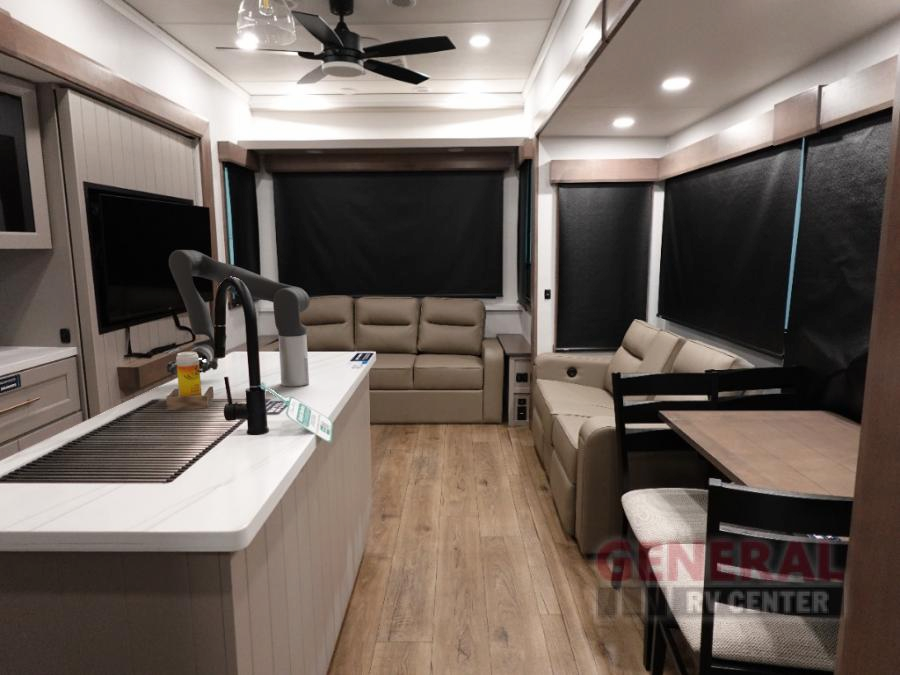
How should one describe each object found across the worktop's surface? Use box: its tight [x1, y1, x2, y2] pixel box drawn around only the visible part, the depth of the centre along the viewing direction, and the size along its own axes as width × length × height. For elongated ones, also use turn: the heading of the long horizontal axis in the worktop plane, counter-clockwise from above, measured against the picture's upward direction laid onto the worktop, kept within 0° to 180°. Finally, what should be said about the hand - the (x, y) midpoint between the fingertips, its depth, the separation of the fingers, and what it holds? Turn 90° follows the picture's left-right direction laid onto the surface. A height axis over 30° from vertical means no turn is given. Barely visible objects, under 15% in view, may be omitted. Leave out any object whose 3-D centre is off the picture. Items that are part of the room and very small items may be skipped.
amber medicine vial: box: [175, 351, 203, 397], centre depth 165 cm, size 6×6×15 cm
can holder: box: [165, 386, 215, 411], centre depth 166 cm, size 11×11×4 cm
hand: (188, 370), depth 164 cm, fingers open, 8 cm apart
